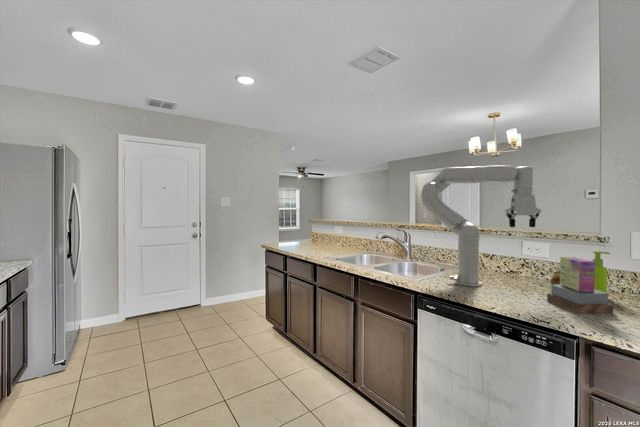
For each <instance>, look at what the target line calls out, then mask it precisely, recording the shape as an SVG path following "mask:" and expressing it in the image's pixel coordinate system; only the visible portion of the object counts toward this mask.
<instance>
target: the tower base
mask: <svg viewBox="0 0 640 427" xmlns="http://www.w3.org/2000/svg"><path fill="white" fill-rule="evenodd" d="M546 296H547V298H546V299H547V300H546V301H547V302H549V303H550V304H553V305H556V306H558V307H561V308H563V309H565V310H568V311H570V312H573V313H575V314H578V315H601V314H603V315H604V314H606V315H607V314H614V304H612V303H610V302H608V304H576V303H574V302H571V301H568V300H566V299H563V298H561V297H558V296H555V295H553V294H552V292H550V293H547V295H546Z"/></svg>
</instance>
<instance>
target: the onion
mask: <svg viewBox="0 0 640 427" xmlns="http://www.w3.org/2000/svg"><path fill="white" fill-rule="evenodd" d="M549 282H550V285H551V286H552V285H557V284H560V270H556V271H554V272H553V276H552V277H551V278H550V281H549Z"/></svg>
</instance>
